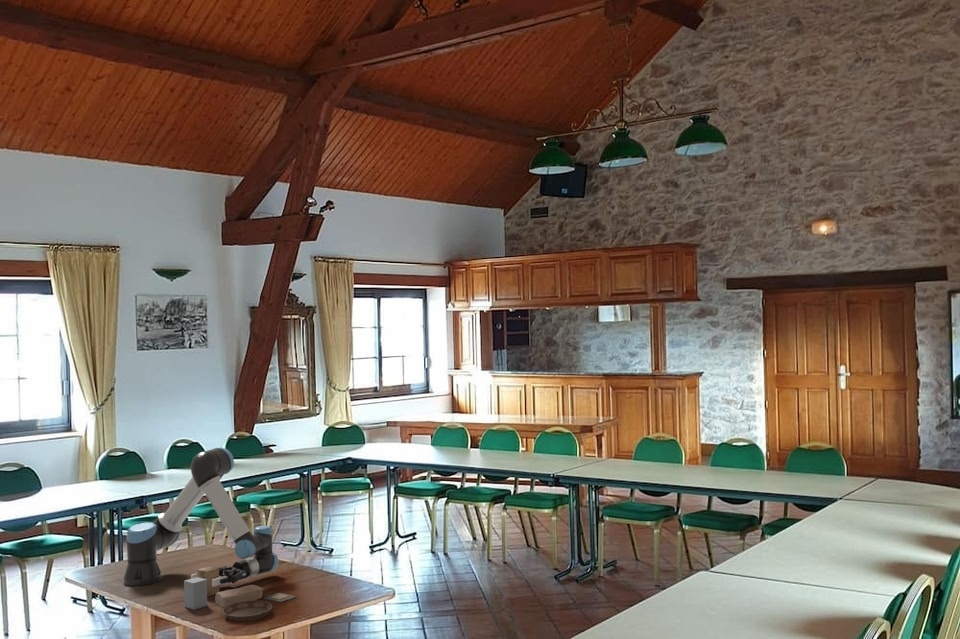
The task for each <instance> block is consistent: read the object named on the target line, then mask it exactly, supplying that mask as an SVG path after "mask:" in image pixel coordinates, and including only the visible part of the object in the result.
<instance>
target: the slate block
mask: <svg viewBox="0 0 960 639" xmlns="http://www.w3.org/2000/svg"><path fill="white" fill-rule="evenodd" d="M183 602H184V603H183V604H184V605H183V606H184V608H187V609H190V610H197V609H200V608H201V609H202V608H204V607H207V606H208V597H207V579H203V578H199V577H196V578H192V579H191V578H188V579H186V580H184V581H183Z"/></svg>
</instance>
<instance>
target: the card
mask: <svg viewBox="0 0 960 639" xmlns="http://www.w3.org/2000/svg"><path fill="white" fill-rule="evenodd" d="M262 597H263V600H267V601H272V602H275V601H276V602H275V603H279V602H281V603H283V601H284V602H287V601H290V600H293V599H297V596H295V595H290V594H288V593H287V594H286V593H282V592H277V593H273V594H270V595H268V596H262ZM286 600H287V601H286Z"/></svg>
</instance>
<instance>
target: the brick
mask: <svg viewBox="0 0 960 639" xmlns="http://www.w3.org/2000/svg"><path fill="white" fill-rule="evenodd" d="M262 597H263V588H262V587H261V586H259V585H255V584H248V585H244V586H241V587H239V588H238V587H237V588H233V589H226V590H222V591H219V592H217V593H216V594H215V597H214V598H215V599H214V601H215V604H216V605H219V607H221V608H225V607H227V606H229V605H231V604H234V603H239V602H244V601H259V600H260V599H262Z"/></svg>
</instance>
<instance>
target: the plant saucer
mask: <svg viewBox="0 0 960 639" xmlns="http://www.w3.org/2000/svg"><path fill="white" fill-rule="evenodd" d="M272 608H273V605H272V603H270V602H268V601H264V600H255V601H244V602H239V603H234V604H231V605H229V606H226V607H223V609H222V613H223V614H224V616H226V618H227V619H228V620H230V621H233V622H251V621H258V620H261V619H263V618H265V617H267V616H268V615H269V613H270V612H271V611H272Z"/></svg>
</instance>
